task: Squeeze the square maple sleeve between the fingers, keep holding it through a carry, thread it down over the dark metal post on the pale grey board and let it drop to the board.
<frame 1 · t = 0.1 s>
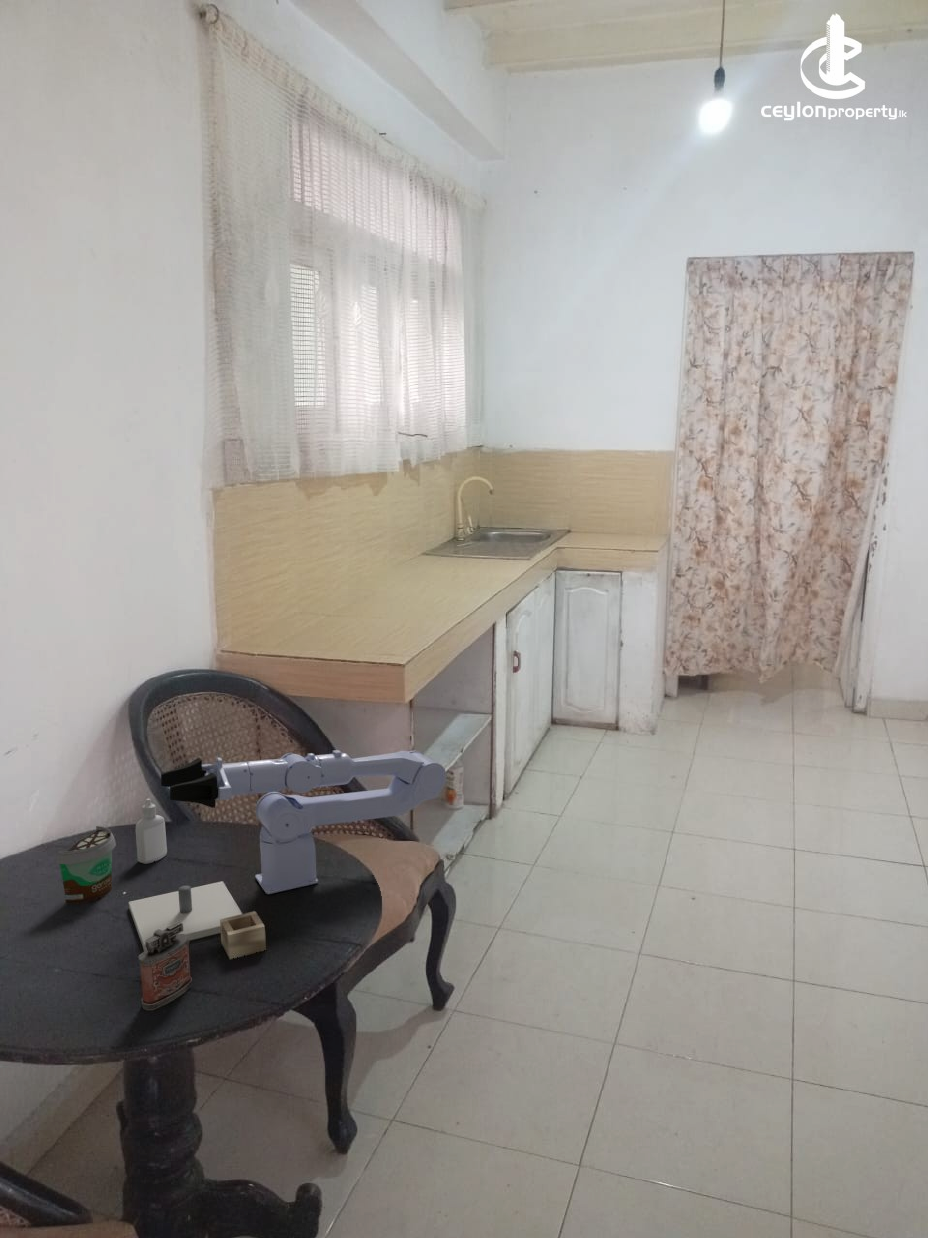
hand: (165, 786, 155), 22 cm above the table, tool horizontal, fingers open, 7 cm apart
maple sleeve: (243, 946, 145), on the table
lighter: (167, 996, 132), on the table
post board: (186, 917, 155), on the table
eye dropper bottle: (152, 859, 178), on the table
food container: (98, 893, 164), on the table
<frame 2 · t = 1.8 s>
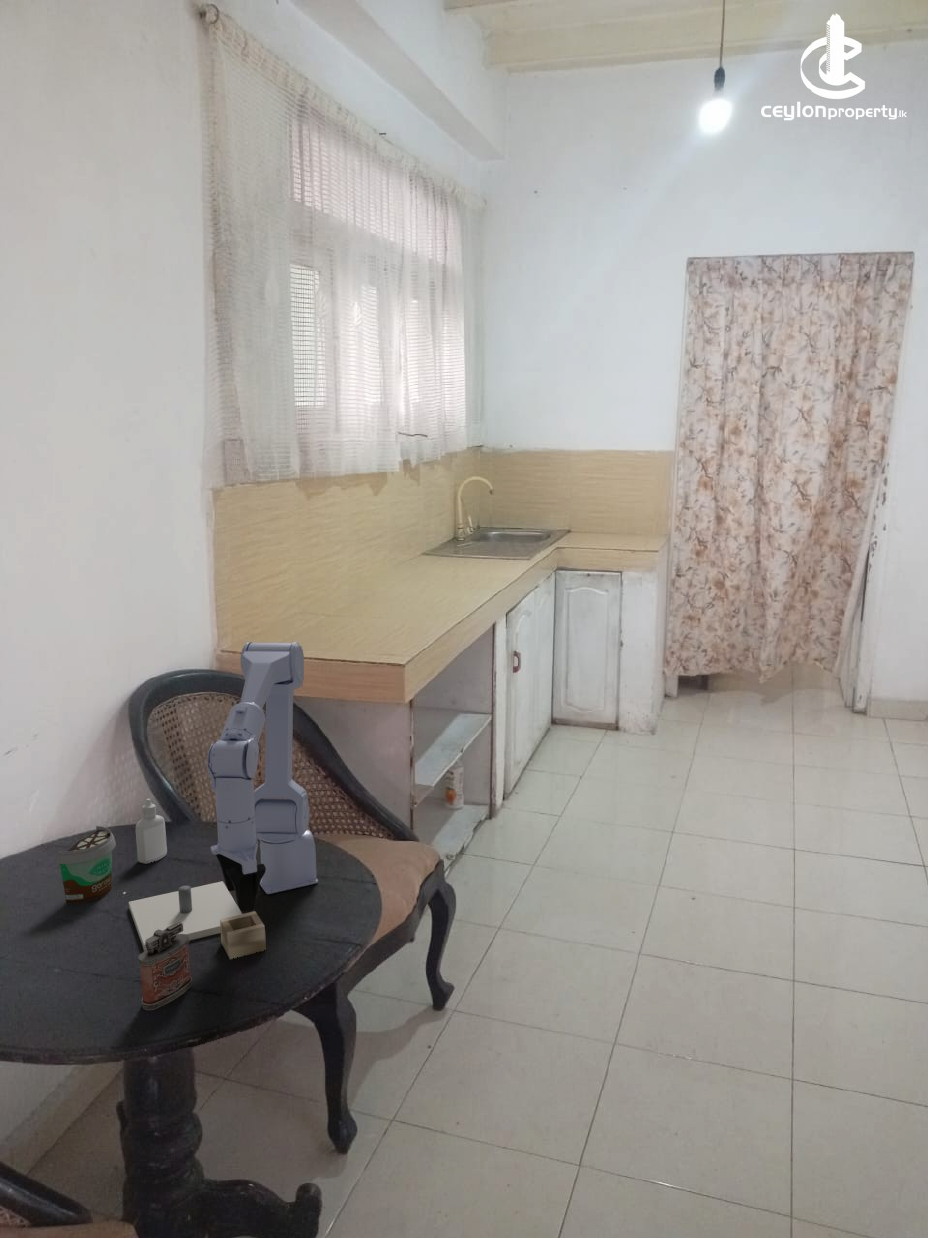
hand: (240, 899, 144), 8 cm above the table, tool pointing down, fingers open, 7 cm apart
nothing on the table moved.
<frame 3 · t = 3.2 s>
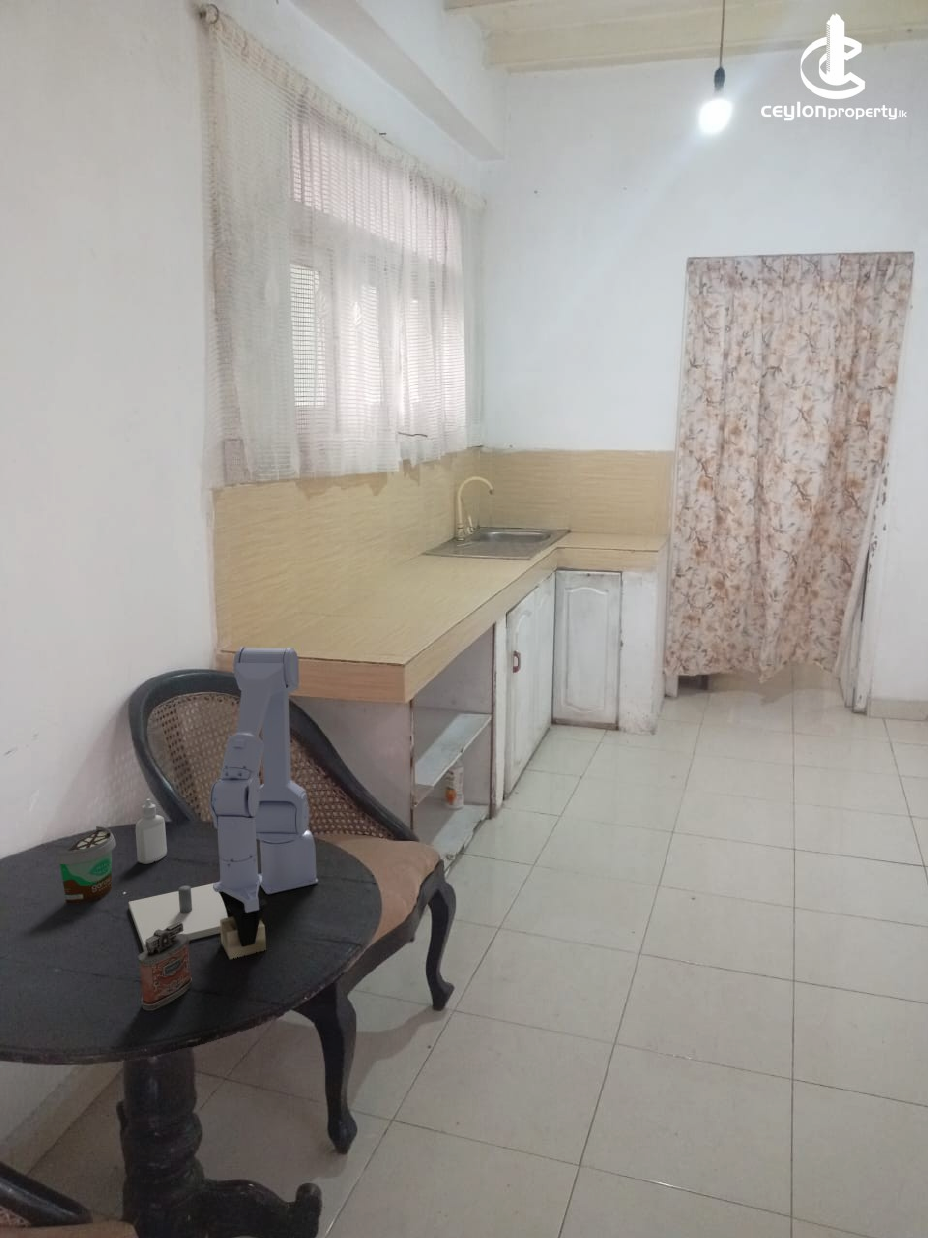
hand: (242, 935, 145), 2 cm above the table, tool pointing down, fingers closed on maple sleeve, 6 cm apart
maple sleeve: (243, 946, 145), on the table, touching gripper
everything else where it was.
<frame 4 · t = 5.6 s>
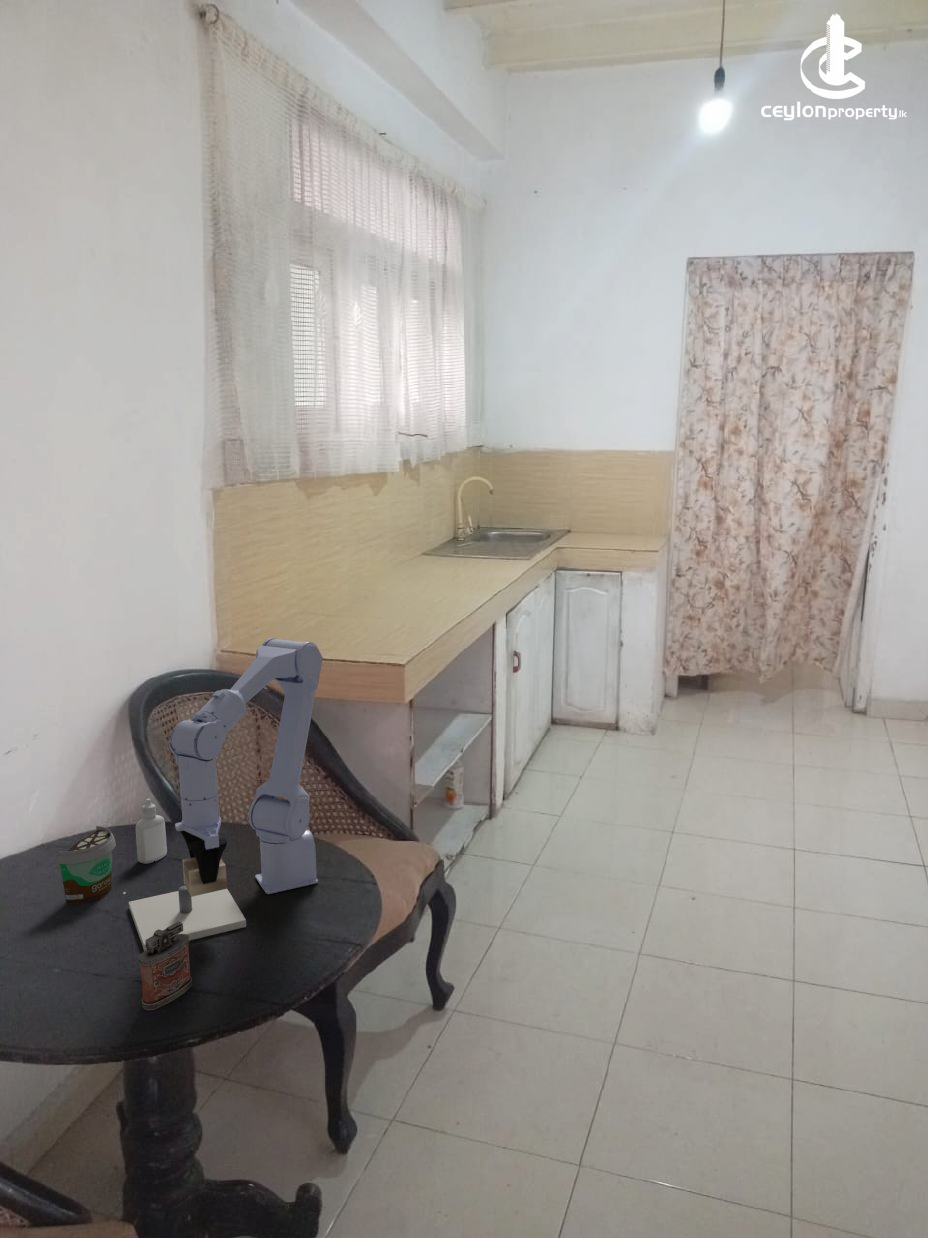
hand: (204, 874, 150), 9 cm above the table, tool pointing down, fingers closed on maple sleeve, 6 cm apart
maple sleeve: (205, 885, 150), point 7 cm above the table, touching gripper
everything else where it was.
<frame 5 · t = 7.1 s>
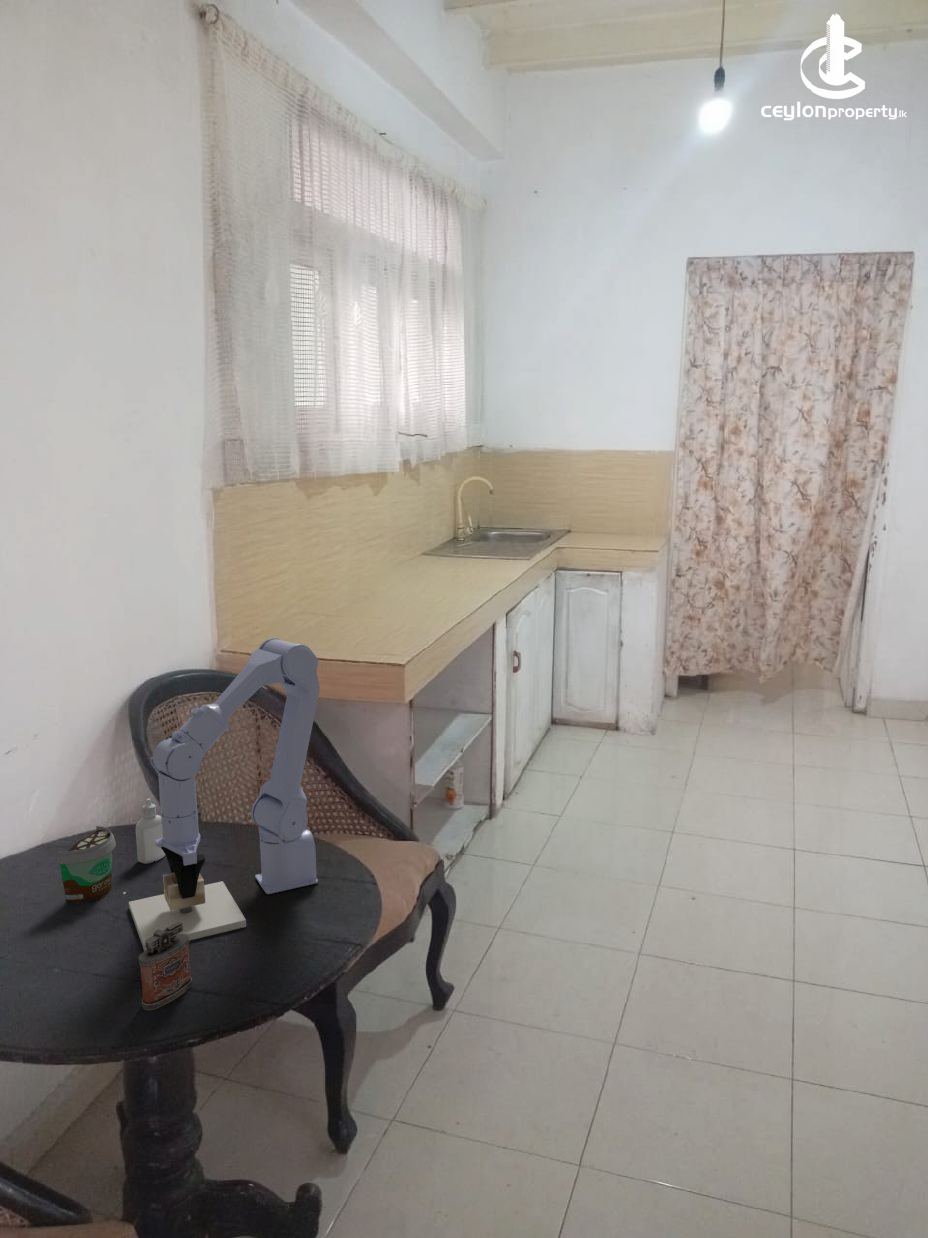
hand: (184, 889, 154), 5 cm above the table, tool pointing down, fingers closed on maple sleeve, 6 cm apart
maple sleeve: (184, 900, 154), point 3 cm above the table, touching gripper
everything else where it was.
when the fingers open (4 cm above the table, at t = 8.3 s): maple sleeve drops 1 cm, resting on post board.
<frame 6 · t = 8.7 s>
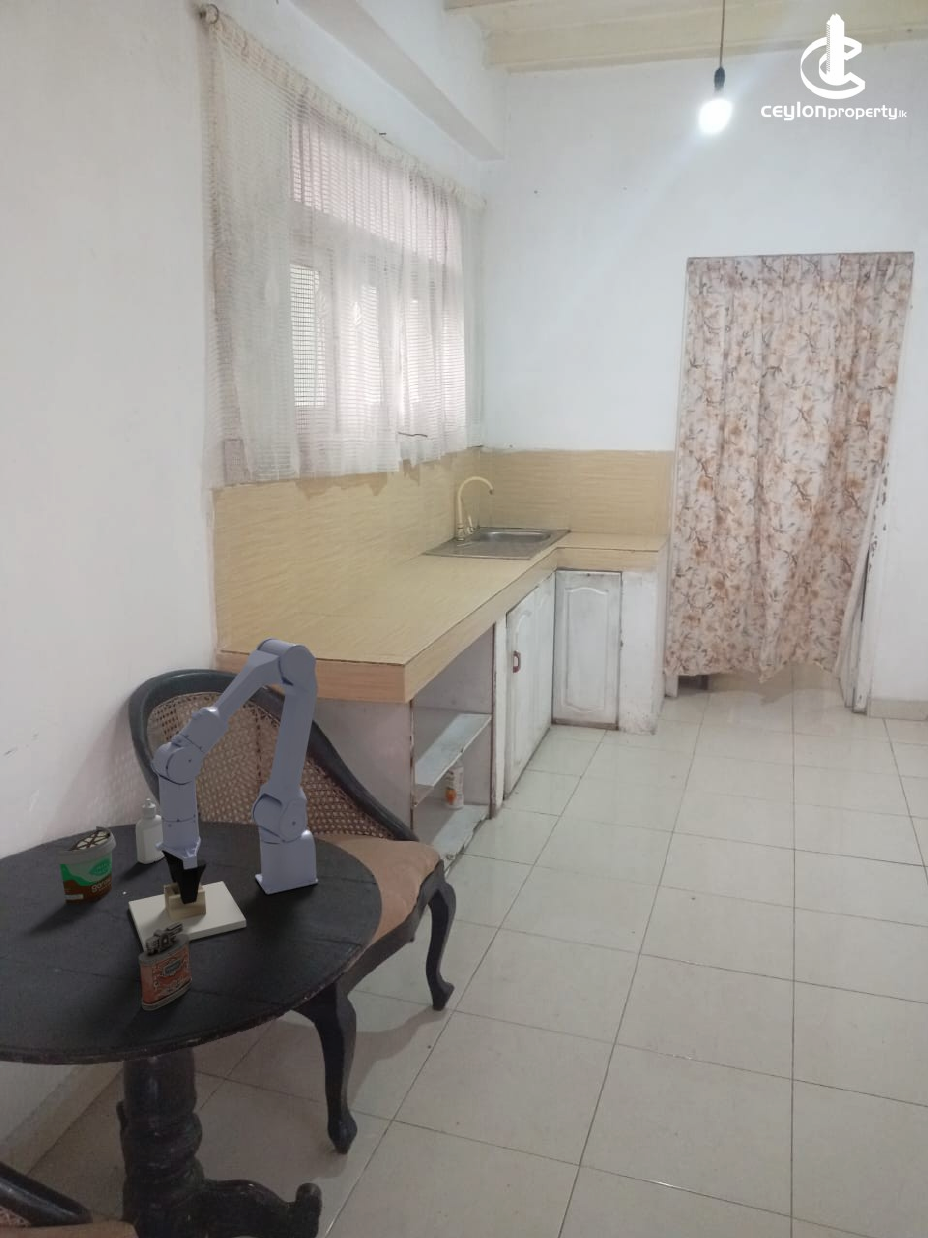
hand: (184, 892, 154), 4 cm above the table, tool pointing down, fingers open, 7 cm apart
maple sleeve: (185, 910, 155), point 1 cm above the table, touching post board
everything else where it was.
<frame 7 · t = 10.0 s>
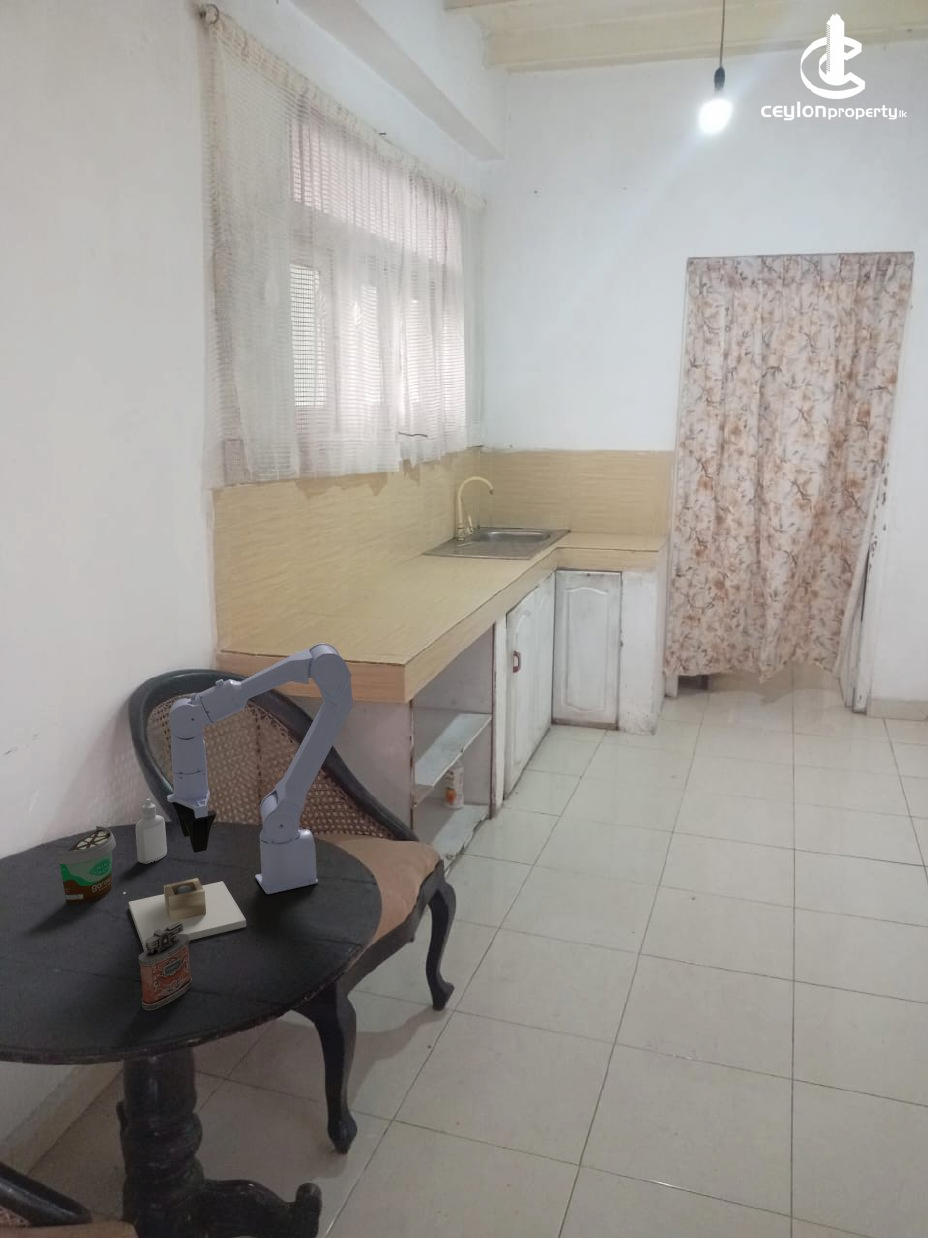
hand: (194, 843, 162), 9 cm above the table, tool pointing down, fingers open, 7 cm apart
nothing on the table moved.
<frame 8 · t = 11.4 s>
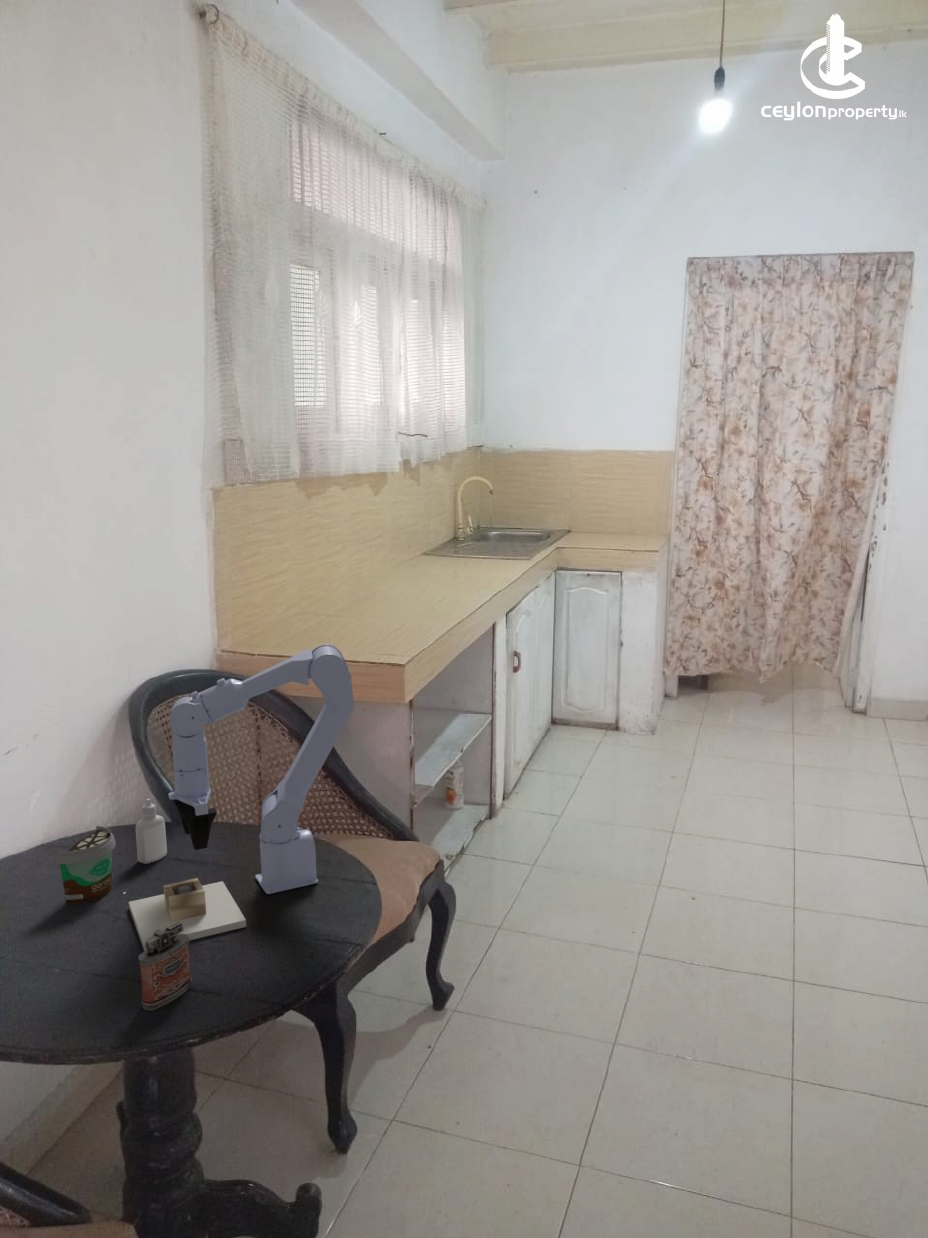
hand: (195, 840, 163), 9 cm above the table, tool pointing down, fingers open, 7 cm apart
nothing on the table moved.
at the end: maple sleeve 0.1 cm off-centre on the post board, point 1.2 cm above the post board's base; maple sleeve tilted 0°; the gripper is holding nothing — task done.
